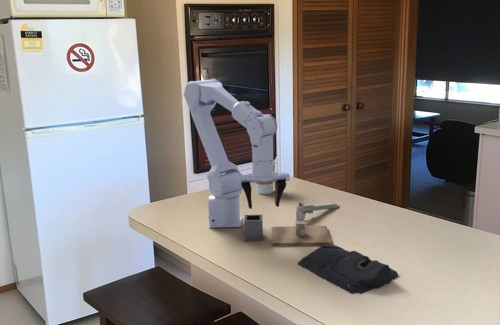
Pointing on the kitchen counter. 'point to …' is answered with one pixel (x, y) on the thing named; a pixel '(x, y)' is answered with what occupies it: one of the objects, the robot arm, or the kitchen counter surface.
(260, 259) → the kitchen counter surface
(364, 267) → the dark slate chunk
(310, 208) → the caliper
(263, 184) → the coffee cup
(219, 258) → the kitchen counter surface
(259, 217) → the steel collar
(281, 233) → the post base
